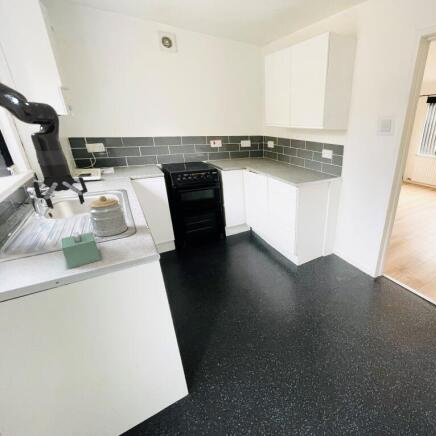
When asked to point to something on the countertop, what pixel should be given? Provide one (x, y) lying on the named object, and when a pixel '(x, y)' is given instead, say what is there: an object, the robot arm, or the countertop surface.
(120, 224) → the jar
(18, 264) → the countertop surface
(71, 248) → the tissue box
